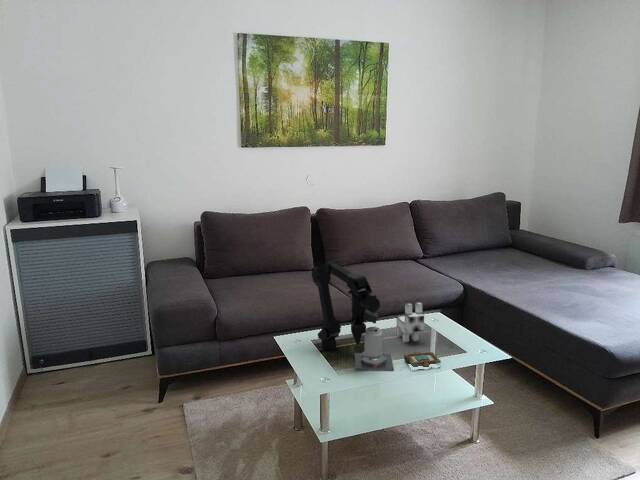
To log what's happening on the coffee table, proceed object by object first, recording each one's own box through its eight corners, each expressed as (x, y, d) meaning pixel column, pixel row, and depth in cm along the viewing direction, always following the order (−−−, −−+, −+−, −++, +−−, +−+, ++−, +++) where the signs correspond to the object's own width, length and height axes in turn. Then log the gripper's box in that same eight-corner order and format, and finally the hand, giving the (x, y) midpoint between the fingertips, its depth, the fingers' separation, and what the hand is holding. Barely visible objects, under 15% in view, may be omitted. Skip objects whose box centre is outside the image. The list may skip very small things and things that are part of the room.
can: (381, 359, 207) (381, 332, 204) (363, 358, 208) (363, 331, 206) (382, 352, 214) (382, 326, 212) (365, 350, 215) (365, 325, 213)
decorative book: (392, 361, 213) (393, 351, 212) (430, 358, 216) (431, 348, 215) (402, 375, 200) (403, 364, 199) (443, 372, 203) (443, 361, 202)
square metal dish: (355, 370, 205) (355, 362, 204) (354, 355, 219) (354, 347, 219) (393, 370, 204) (394, 363, 203) (390, 355, 219) (390, 348, 218)
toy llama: (408, 332, 245) (409, 294, 241) (423, 346, 229) (424, 305, 225) (394, 333, 244) (395, 295, 240) (408, 347, 227) (409, 306, 223)
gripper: (378, 313, 197) (378, 349, 201) (375, 298, 216) (374, 331, 219) (351, 313, 198) (350, 348, 201) (350, 298, 216) (349, 331, 219)
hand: (357, 340), depth 210 cm, fingers open, 9 cm apart
